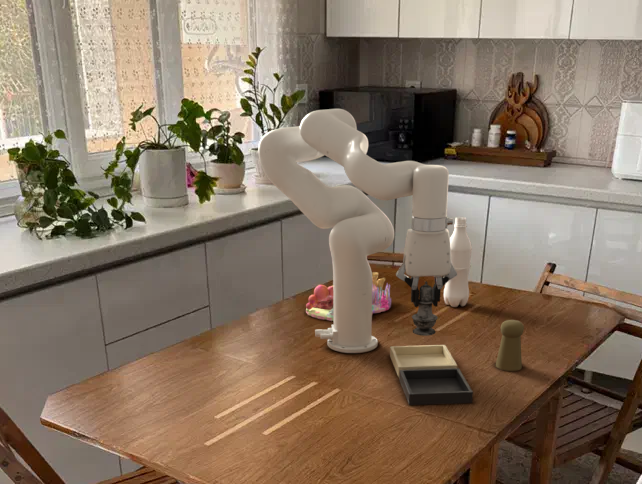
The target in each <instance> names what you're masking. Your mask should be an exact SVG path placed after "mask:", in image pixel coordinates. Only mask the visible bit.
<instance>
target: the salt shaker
mask: <svg viewBox="0 0 642 484" xmlns="http://www.w3.org/2000/svg"><path fill="white" fill-rule="evenodd" d="M432 288H433V286H431V285H430V284H428V281H427V280H426V281H424V284H422V285H421V286H420V287H419V306H418V307H417V308H418V310H417V313H415V314H414V313H413V314H412V315H411V319H412V322H413V324H414V326H415V328H414V329H412V333H413V334H414V335H417V336H422V337H423V336H424V337H427V336H433V335H435V334H436V332H437V331H436V330H435V329H434V328H433V327H434V326H435V325H436V323H437V320H438V319H439V317H438V316H437V314H434V313H433V304H432V303H433V302H434V301H433V300H432Z"/></svg>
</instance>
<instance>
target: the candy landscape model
mask: <svg viewBox="0 0 642 484" xmlns="http://www.w3.org/2000/svg"><path fill="white" fill-rule="evenodd" d="M385 281H386V277H381V278H379V272H376V271H373V272H372V315H374V314H379V313H381V312H386V311H388V310H389V309H391V307H392V297H391V296H390V295H391V284H390V283H389V284H388V282H386V285H385V288H384V284H385ZM383 288H384V290H383ZM305 307H306V309H305V313H306V314H307V316H310V317H312V318H315V319H319V320H326V321H329V322H330V321H331V322H332V321H333V322H334V308H333V284H331V285H330V286H328V287H327V286H326V285H325V284H318V285H316V287H315V288H314V290H313V294H311V295H309V297H308V302H307V303H306V304H305Z"/></svg>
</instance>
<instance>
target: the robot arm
mask: <svg viewBox="0 0 642 484" xmlns="http://www.w3.org/2000/svg"><path fill="white" fill-rule="evenodd" d="M257 149H258V152H257V153H258V161H259V164H260V167H261V169H262V171H263V173H264V175H265V176H266V178H267V179H268V180H269V182H270V183H271V184H272V185H274V187H276V188H277V189H278V190H279V191H280V192H282V194H284V196H286V198H288V199H289V200H290V201H291V202H292V204H293V205H295V207H297V208H298V210H299V211H300V212H301V213H302V214H303V215H304V216H305V217H306V218H307V219H308V220H309V221H310V222H311V223H312V224H313V225H315V226H316V227H317V228H319V229H322V230H325V229H326V230H327V229H331V230H330V233H329V235H328V244H329V245H328V246H329V250H330V256H331V262H332V285H333V308H334V321H333V324H331V327H327V329H314V337H315V338H320V340H327V341H326V344H327V347H328V348H329V349H331V350H332V351H336V352H338V353H344V354H361V353H367V352H370V351H373V350H375V349H376V348H377V347H378V343H379V341H378V338H377V337H375V336H374V335H372V333H373V331H372V330H373V327H372V326H373V325H372V324H373V314H372V268H371V266H370V263H369V260H368V256H370V255H374V254H377V253H380V252H383V251H385V250H386V249H387V250H388V248H389V247H390V246H391V245H392V244H393V242H394V239H395V229H394V228H395V227H394V226H393V224H392V221H391V219H390V218H389V217H388V216H387V215H386V214H385V213H384V211H383V210H382V209H380V208H379V206H377V205H376V203H374V202H373V201H372V200H371V199H370V197H372V198H374V199H376V200H380V201H392V200H396V199H400V198H405V197H411V196H412V198H411V199H412V200H411V201H412V203H411V224H410V225H411V226H410V227H411V228H408V229H407V230H406V236H405V241H404V248H403V259H402V263H401V264H400V266H399V268H398V269H397V271H396V273H395V276H396V278H398V279H399V280H400V281H402V282H404V283H406V284H407V286H408V287H410V302H411V303H412V304H413V305H414V308H418V307H419V291H420V288H419V280H420V277H433V280H434V284H433V286H432V300H433V301H434V302H433V303H432V306H433V307H438V303H440V302H441V293H442V292H441V290H442V289H443V287H445V284H446V283H447V282H448V281H449V280H451V279H452V278H454V277H455V276H457V272H456V270H455V269H454V267H453V265H452V264H451V249H450V237H451V236H450V231H449V229H448V226H451V225H454V219H453V217H452V218H450V217H448V198H449V197H448V196H449V179H450V178H449V177H450V176H449V175H450V173H449V169H448V168H447V167H446V166H444V165H439V164H426V163H421V162H418V161H415V160H402V161H396V162H390V163H385V164H384V163H381V162H379V161H377V160H376V159H374V158H373V157H371V156H369V155H368V154H367V153H368V150H369V139H368V137H367V136H366V134H365V133H363V132H362V131H360V130H358V128H357V122H356V119H355V118H354V116H353V115H352V114H351V113H350V111H347V110H346V109H343V108H329V109H316V110H313V111H311V112H309V113H307V114H305V116H304V117H303V118H302V119H301V121H300V124H299V125H298V126H287V127H279V128H275V129H272V130H269V131H268V132H266V133H265V134H264V135H263V136H262V137H261V139H260V141H259V143H258V148H257ZM324 156H326V157H327V158H329V159H330V160H331V161H334V162H335V163H337V164H338V165H340V166H342V167H343V169H344V172H345V175H346V176H347V178H348V180H349V182H351V184H352V185H350V184H341V185H335V186H329V185H327V184H325V183H324V182H323V181H322V180H321V179H320V178H319V177H318V176H317V175H316V174H315V173H313V172H312V171H311V170H309V169H308V168H306V167H305V166H302V165H300V164H299V163H302V162H303V163H304V162H310V161H314V160H317V159H319V158H322V157H324ZM367 195H368V196H370V197H368V196H367Z"/></svg>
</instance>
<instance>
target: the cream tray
mask: <svg viewBox="0 0 642 484" xmlns="http://www.w3.org/2000/svg"><path fill="white" fill-rule="evenodd" d="M389 357H390V359H391V363H392V366H393V367H394V370H395V373H396V375H397V377H398V378H399V374H400V370H415V369H448V368H458V364H457V362H456V361H455V359H454V356H453V355H452V354H451V352H450V350H449V349H448V347H447V346H446V344H425V345H393V346H392V345H390V347H389Z"/></svg>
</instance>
